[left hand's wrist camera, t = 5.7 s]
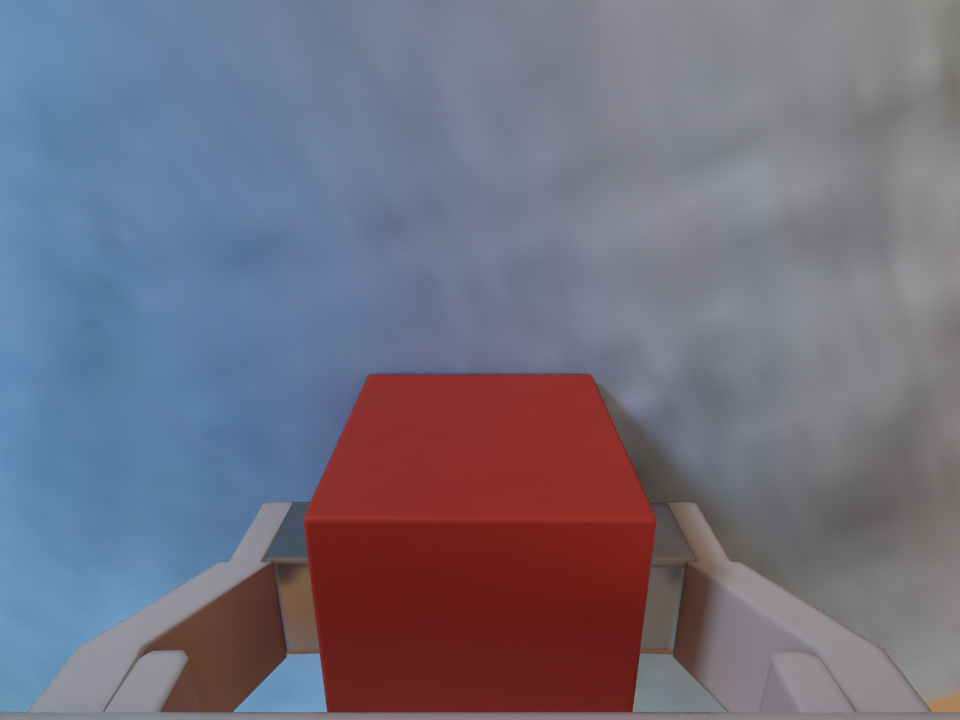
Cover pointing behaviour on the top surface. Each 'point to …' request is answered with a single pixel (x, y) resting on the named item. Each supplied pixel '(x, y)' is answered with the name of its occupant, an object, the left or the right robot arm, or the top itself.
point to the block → (479, 549)
